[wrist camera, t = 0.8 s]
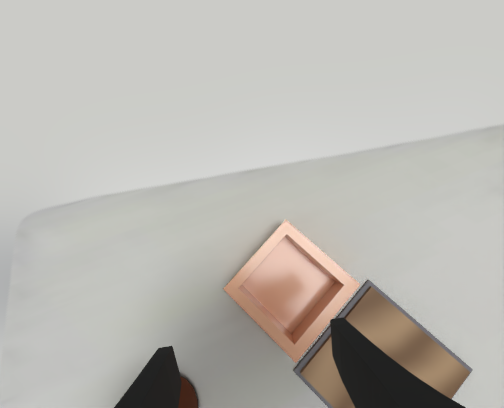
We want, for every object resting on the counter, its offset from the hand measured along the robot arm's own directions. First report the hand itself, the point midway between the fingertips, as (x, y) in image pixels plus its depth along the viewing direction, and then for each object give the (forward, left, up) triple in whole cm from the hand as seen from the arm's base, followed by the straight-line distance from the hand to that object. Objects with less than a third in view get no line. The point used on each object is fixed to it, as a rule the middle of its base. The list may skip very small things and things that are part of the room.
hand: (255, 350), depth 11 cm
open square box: (-2, -3, -20) cm, 21 cm away
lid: (-16, -3, -20) cm, 26 cm away
